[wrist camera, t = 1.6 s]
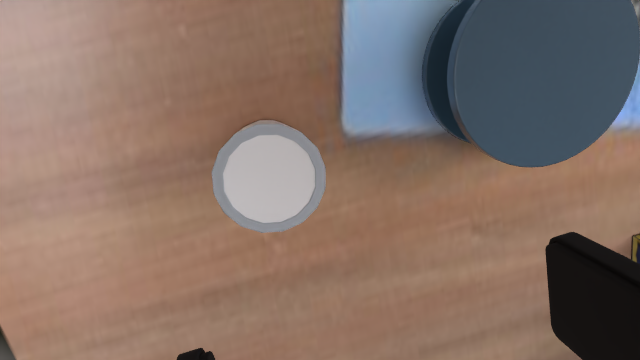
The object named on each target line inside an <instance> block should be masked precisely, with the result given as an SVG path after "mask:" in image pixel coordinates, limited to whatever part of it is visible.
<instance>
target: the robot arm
mask: <svg viewBox="0 0 640 360" xmlns="http://www.w3.org/2000/svg"><path fill="white" fill-rule="evenodd" d="M546 263H547V277H548V290H549V303H550V316H551V326H552V329H553V331H554V333H555V335H556V336H557V337H558V338H559V340H561V341H562V342H563V343H564V344H565V345H566V346H568V347H569V348H570V349H571V350H572V351H573V352H574V353H576V354H577V355H578V356H579V357H580V358H581V359H582V360H640V264H639V263H637V262H635V261H633V260H631V259H629V258H627V257H625V256H622V255H620V254H618V253H616V252H614V251H612V250H610V249H608V248H606V247H604V246H602V245H600V244H598V243H596V242H594V241H592V240H590V239H588V238H586V237H584V236H582V235H580V234H578V233H575V232H569V233H566V234H563V235H560V236H557V237H553V238H552V239H550V242H549V245H547V246H546ZM177 360H215V358H214V355H213V353H212V352H211V351H209V352H206V353H205V351H204V350H203V348H198V349H195V350H192V351H189V352H186V353H182V354H180V355H178V357H177Z"/></svg>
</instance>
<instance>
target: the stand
mask: <svg viewBox="0 0 640 360" xmlns="http://www.w3.org/2000/svg"><path fill="white" fill-rule="evenodd" d="M639 55H640V31H639V25H638V19H637V16H636V12H635V9H634V6H633V4H632V2H631V0H460V1H458V2H457V3H456V4H455V5H454V6H453V7H451V8H450V9H449V10H448V12H447V13H446V14H445V15H444V16H443V17H442V19H441V20H440V21H439V23H438V24H437V26H436V28H435V29H434V31H433V33H432V35H431V37H430V40H429V42H428V45H427V48H426V51H425V55H424V60H423V67H422V83H423V90H424V95H425V99H426V102H427V104H428V107H429V109H430V111H431V113H432V115H433V116H434V118H435V119H436V121H437V122H438V123H439V124H440V125H441V126H442V127H443V128H444V129H445V130H446V131H447V132H448V133H450V134H451V135H453V136H454V137H456V138H458V139H460V140H463V141H466V142H468V143H472V144H473V145H474V146H475V147H476V148H477V149H478V150H480V151H481V152H482V153H484V154H486V155H487V156H489V157H491V158H493V159H496V160H498V161H501V162H504V163H507V164H509V165H514V166H519V167H543V166H547V165H552V164H556V163H559V162H561V161H564V160H567V159H569V158H571V157H573V156H575V155H577V154H578V153H580V152H581V151H583V150H584V149H586V148H587V147H589V146H590V145H591V144H592V143H594V142H595V141H596V140H597V139H598V138H599V137H600V136H601V135H602V134H603V133H604V132H605V131H606V130H607V129H608V128H609V126H610V125H611V124H612V123H613V122H614V120H615V119H616V117H617V116H618V114H619V113H620V111H621V110H622V108H623V106H624V104H625V102H626V100H627V98H628V96H629V94H630V91H631V89H632V86H633V83H634V80H635V76H636V73H637V68H638V63H639Z"/></svg>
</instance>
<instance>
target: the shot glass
mask: <svg viewBox="0 0 640 360" xmlns="http://www.w3.org/2000/svg"><path fill="white" fill-rule="evenodd" d="M212 180H213V192H214V195H215V197H216V199H217V201H218V203H219V204H220V206H221V208H222V210H223V212H224V213H225V214H226V215H228V216H229V217H230V218H231V219H232V220H234V221H235V222H236V223H237V224H239V225H240V226H242V227H245V228H248V229H251V230H255V231H258V232H261V233H264V232H280V231H285V230H287V229H289V228H291V227H294V226H296V225H298V224H300V223H303V222H304V221H305V220H306V219H307V218H308V216H309V215H310V214H311V213H312V212H313V211H314V210H315V209H316V208H317V207H318V205H319V202H320V200H321V198H322V195H323V193H324V190H325V165H324V162H323V160H322V158H321V155H320V153H319V151H318V149H317V147H316V146H315V145H314V144H313V143H312V142H311V141H310V140H309V139H308V138H307V137H306V136H305V135H304V134H302V133H301V132H300V131H298V130H296V129H294V128H292V127H290V126H288V125H286V124H283V123H280V122H278V121H275V120H258V121H256V122H254V123H252V124H249V125H247V126H245V127H244V128H242V129H241V130H240V131H238V132H237V133H235V134H234V135H233V136H232V137H231V139H230V140H229V141H228V142H227V143H226V144H225V145H224V146H223V147H222V148H221V149H220V150H219V153H218V156H217V158H216V161H215V164H214V167H213V170H212Z"/></svg>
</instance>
